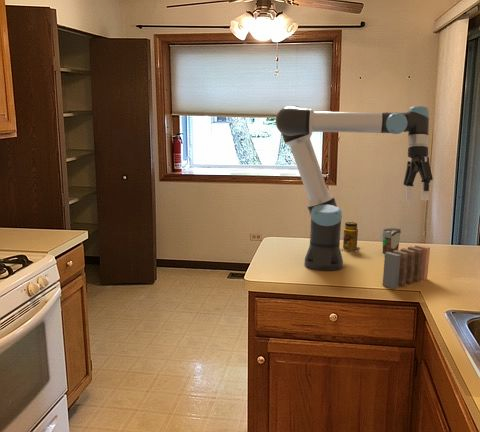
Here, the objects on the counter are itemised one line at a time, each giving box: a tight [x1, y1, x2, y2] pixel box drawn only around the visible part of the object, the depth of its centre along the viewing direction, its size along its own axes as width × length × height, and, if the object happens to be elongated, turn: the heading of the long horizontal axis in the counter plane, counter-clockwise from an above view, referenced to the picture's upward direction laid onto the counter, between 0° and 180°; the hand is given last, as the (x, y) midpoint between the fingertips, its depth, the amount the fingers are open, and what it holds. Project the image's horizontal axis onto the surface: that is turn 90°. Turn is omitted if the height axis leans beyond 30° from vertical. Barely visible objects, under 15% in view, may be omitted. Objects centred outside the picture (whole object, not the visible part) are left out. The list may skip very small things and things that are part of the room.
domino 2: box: [393, 249, 408, 288], centre depth 189 cm, size 2×5×12 cm, turn 39°
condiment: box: [340, 221, 361, 253], centre depth 236 cm, size 7×8×12 cm
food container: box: [381, 227, 402, 255], centre depth 232 cm, size 12×6×10 cm, turn 144°
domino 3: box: [399, 247, 416, 285], centre depth 192 cm, size 2×5×12 cm, turn 39°
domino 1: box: [382, 252, 401, 290], centre depth 186 cm, size 2×5×12 cm, turn 39°
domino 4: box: [407, 246, 423, 283], centre depth 195 cm, size 2×5×12 cm, turn 39°
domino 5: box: [414, 244, 431, 281], centre depth 197 cm, size 2×5×12 cm, turn 39°
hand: (416, 201), depth 206 cm, fingers open, 13 cm apart
